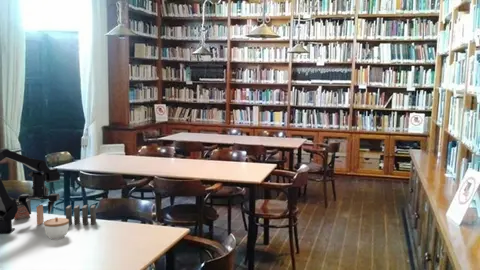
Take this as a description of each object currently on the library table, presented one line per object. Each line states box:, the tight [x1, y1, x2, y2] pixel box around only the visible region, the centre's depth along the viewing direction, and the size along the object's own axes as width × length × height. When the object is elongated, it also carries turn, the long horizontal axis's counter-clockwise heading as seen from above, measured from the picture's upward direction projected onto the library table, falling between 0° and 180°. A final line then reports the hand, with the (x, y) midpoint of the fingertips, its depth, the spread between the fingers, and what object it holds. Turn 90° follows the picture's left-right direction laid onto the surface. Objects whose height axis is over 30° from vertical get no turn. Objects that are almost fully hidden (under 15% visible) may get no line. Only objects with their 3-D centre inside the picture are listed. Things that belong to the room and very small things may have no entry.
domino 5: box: [89, 204, 97, 226], centre depth 230 cm, size 5×2×9 cm, turn 6°
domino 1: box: [35, 204, 45, 225], centre depth 230 cm, size 5×2×9 cm, turn 6°
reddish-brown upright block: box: [13, 200, 31, 221], centre depth 238 cm, size 8×3×10 cm, turn 141°
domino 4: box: [81, 204, 89, 226], centre depth 230 cm, size 5×2×9 cm, turn 6°
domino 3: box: [73, 204, 81, 226], centre depth 229 cm, size 5×2×9 cm, turn 6°
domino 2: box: [65, 204, 73, 226], centre depth 229 cm, size 5×2×9 cm, turn 6°
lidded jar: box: [43, 217, 70, 240], centre depth 208 cm, size 11×11×9 cm
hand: (39, 214), depth 230 cm, fingers open, 9 cm apart
